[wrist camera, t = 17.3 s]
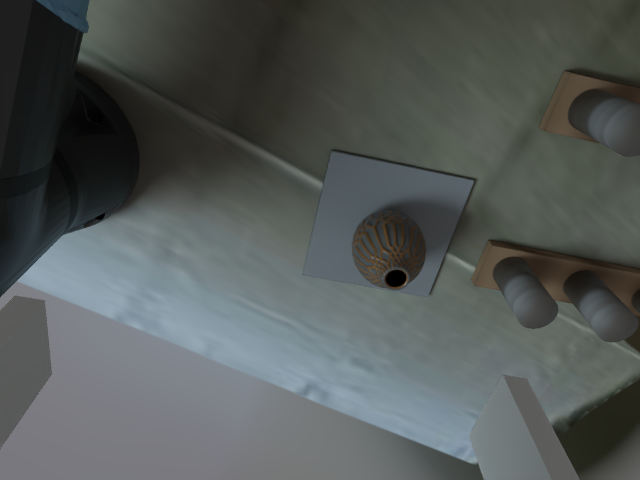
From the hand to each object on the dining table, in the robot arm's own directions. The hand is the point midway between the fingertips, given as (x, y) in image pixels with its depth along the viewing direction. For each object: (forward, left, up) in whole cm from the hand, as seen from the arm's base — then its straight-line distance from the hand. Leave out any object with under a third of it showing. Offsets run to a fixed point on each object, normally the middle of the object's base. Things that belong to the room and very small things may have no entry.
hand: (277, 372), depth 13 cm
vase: (+10, -10, -31) cm, 35 cm away
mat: (+10, -10, -32) cm, 35 cm away
